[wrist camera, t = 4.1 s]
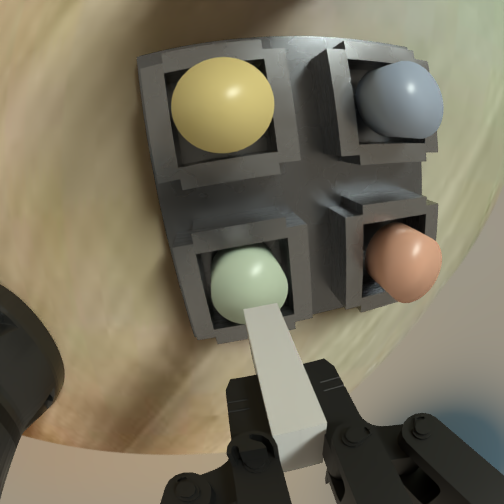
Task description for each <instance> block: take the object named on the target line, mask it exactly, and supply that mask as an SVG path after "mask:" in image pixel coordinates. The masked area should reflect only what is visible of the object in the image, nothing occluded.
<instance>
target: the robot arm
mask: <svg viewBox="0 0 504 504" xmlns="http://www.w3.org/2000/svg"><path fill="white" fill-rule="evenodd" d="M243 310H244V316H245V322H246V327H247V333H248V338H249V344H250V349H251V354H252V359H253V364H254V368H255V373H256V375H253V376H247V377H242V378H236V379H230V381H229V384H228V386H227V389H226V397H227V406H228V415H229V424H230V432H231V442H230V443H229V445H228V446H227V456H228V458H229V459H228V461H227V462H226V463H225V464H224V465H222V466H221V467H219V468H217V469H215V470H213V471H210V472H208V473H205V474H202V475H199V474H196V473H181V474H178V475H175V476H174V477H173V478H172V479H170V480H169V482H168V484H167V485H166V487H165V490H164V493H163V497H162V500H161V503H160V504H292V503H291V500H290V496H289V492H288V488H287V485H286V481H285V477H284V473H283V472H287V471H292V470H296V469H300V468H304V467H308V466H312V465H315V464H319V463H322V462H323V458H324V461H325V463H326V466H327V471H326V477H325V481H326V484H327V483H330V486H331V489H332V491H333V494H334V497H335V500H336V503H337V504H504V475H502V474H501V473H500V472H499V471H498V470H497V469H495V468H494V467H493V466H492V465H491V464H490V463H488V462H487V461H486V460H485V459H484V458H483V457H481V456H480V455H479V454H478V453H477V452H475V451H474V450H473V449H472V448H471V447H469V446H468V445H467V444H466V443H465V442H463V440H461V439H460V438H459V437H458V436H457V435H456V434H454V433H453V432H452V431H451V430H450V429H449V428H448V427H446V426H445V425H444V424H443V423H442V422H441V421H439V420H438V419H437V418H436V417H434V416H432V415H431V414H426V413H419V414H414V415H412V416H411V417H409V418H408V419H407V420H406V421H405V422H404V424H401V425H393V426H375V425H372V424H370V423H367V422H366V421H365V420H364V419H362V417H361V416H360V414H359V412H358V411H357V409H356V407H355V405H354V403H353V401H352V399H351V397H350V395H349V393H348V392H347V390H346V388H345V386H344V384H343V382H342V380H341V378H340V377H339V375H338V373H337V371H336V369H335V367H334V366H333V365H332V364H331V363H329V362H328V361H327V360H325V359H321V360H317V361H313V362H309V363H305V364H303V363H302V361H301V359H300V356H299V354H298V352H297V349H296V347H295V344H294V342H293V340H292V337H291V335H290V332H289V330H288V328H287V325H286V323H285V321H284V318H283V316H282V313H281V311H280V309H279V306H278V304H277V303H273V304H268V305H263V306H258V307H253V308H247V309H243ZM63 382H64V367H63V362H62V359H61V356H60V353H59V351H58V349H57V347H56V345H55V343H54V341H53V339H52V337H51V336H50V334H49V333H48V331H47V330H46V328H45V327H44V325H43V324H42V323H41V321H40V320H39V319H38V317H37V316H36V315H35V314H34V313H33V312H32V311H31V309H30V308H29V307H28V306H27V305H26V304H25V303H24V302H23V301H22V300H21V299H19V298H18V297H17V296H16V295H15V294H13V293H12V292H11V291H9V290H8V289H7V288H5V287H4V286H2V285H0V498H1V494H2V491H3V487H4V484H5V480H6V477H7V474H8V471H9V468H10V465H11V462H12V459H13V456H14V453H15V451H16V448H17V445H18V443H19V440H20V438H21V435H22V434H23V432H24V431H25V430H26V429H27V428H28V427H29V426H30V425H31V424H32V423H33V422H34V421H35V420H37V419H38V418H39V417H40V416H41V415H42V414H43V413H44V412H45V411H46V410H47V409H48V408H49V407H50V406H51V405H52V404H53V403H54V402H55V400H56V398H57V396H58V394H59V392H60V389H61V387H62V385H63Z"/></svg>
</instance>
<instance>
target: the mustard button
mask: <svg viewBox="0 0 504 504" xmlns="http://www.w3.org/2000/svg"><path fill="white" fill-rule="evenodd" d="M171 111H172V116H173V120H174V123H175V125H176V127H177V129H178V131H179V132H180V133H181V135H182V136H183V137H184V138H185V139H186V140H187V141H188V142H190V143H191V144H192V145H194V146H196V147H197V148H200V149H202V150H205V151H208V152H213V153H231V152H235V151H239V150H242V149H244V148H246V147H248V146H250V145H252V144H253V143H255V142H256V141H257V140H258V139H259V138H260V137H261V136H262V135H263V134H264V133H265V131H266V130H267V128H268V127H269V125H270V123H271V120H272V117H273V113H274V96H273V91H272V89H271V86H270V84H269V82H268V80H267V79H266V78H265V76H264V75H263V74H262V73H261V72H260V71H259V70H258V69H257V68H256V67H254V66H253V65H251V64H249V63H247V62H245V61H243V60H240V59H236V58H231V57H217V58H212V59H208V60H205V61H202V62H200V63H198V64H196V65H195V66H193V67H192V68H190V69H189V70H188V71H187V72H186V73H185V74H184V75H183V76H182V77H181V79H180V80H179V81H178V83H177V85H176V87H175V89H174V92H173V96H172V102H171Z"/></svg>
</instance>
